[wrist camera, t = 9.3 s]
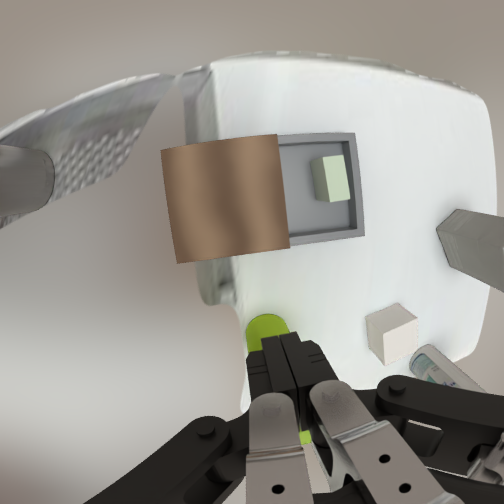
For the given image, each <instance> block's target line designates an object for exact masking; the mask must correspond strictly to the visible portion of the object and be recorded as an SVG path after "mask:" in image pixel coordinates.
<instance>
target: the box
mask: <svg viewBox="0 0 504 504" xmlns="http://www.w3.org/2000/svg"><path fill="white" fill-rule="evenodd" d="M277 137H278V145H279V152H280V160H281V168H282V176H283V185H284V193H285V202H286V211H287V220H288V230H289V240H290V246H295V245H302V244H310V243H317V242H324V241H332V240H339V239H346V238H353V237H361V236H365V231H364V213H363V199H362V188H361V177H360V168H359V160H358V152H357V144H356V137H355V133H313V134H293V135H278V136H277ZM338 155H343V156H344V162H345V168H346V174H347V180H348V186H349V193H350V199H347V200H341V201H335V202H325V201H318V200H317V199H316V193H315V187H314V181H313V175H312V170H311V164H310V161H313V160H316V159H319V158H322V157H329V156H338Z"/></svg>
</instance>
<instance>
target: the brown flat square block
mask: <svg viewBox="0 0 504 504" xmlns="http://www.w3.org/2000/svg"><path fill="white" fill-rule="evenodd" d="M161 159H162V167H163V175H164V184H165V191H166V198H167V205H168V212H169V218H170V225H171V231H172V237H173V243H174V249H175V254H176V260H177V263H186V262H193V261H200V260H208V259H215V258H222V257H229V256H237V255H244V254H251V253H258V252H266V251H273V250H280V249H287V248H290V240H289V230H288V220H287V211H286V202H285V193H284V185H283V176H282V168H281V160H280V152H279V145H278V137H277V134H272V135H260V136H250V137H241V138H233V139H225V140H217V141H210V142H204V143H197V144H191V145H185V146H180V147H174V148H169V149H164V150H161Z"/></svg>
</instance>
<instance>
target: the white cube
mask: <svg viewBox="0 0 504 504" xmlns="http://www.w3.org/2000/svg"><path fill="white" fill-rule="evenodd" d="M365 317H366V326H367V335H368V345H369V348H370V349H371V350H372V352H373V353H374V354H375V355H376V356H377V358H378V359H379V360H380V361H381V362H382V364H383V365H384V366H386V365H389V364H391V363H393V362H395V361H397V360H399V359H401V358H403V357H405V356H407V355H409V354H411V353H413V352H415V351H417V349H418V318H417V317H416V316H415V315H413V314H412V313H411V312H409V311H408V310H406V309H405V308H404V307H402V306H401V305H400V304H398V303H396V304H394V305H392V306H389V307H387V308H385V309H382V310H380V311H377V312H375V313H372V314H370V315H368V316H365Z"/></svg>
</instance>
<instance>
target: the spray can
mask: <svg viewBox="0 0 504 504" xmlns="http://www.w3.org/2000/svg"><path fill="white" fill-rule="evenodd" d="M410 369H411V371H412V372H413V373H414V375H415V376H416V377H417V378H418V379H420V380H424V381H428V382H433V383H437V384H442V385H446V386H451V387H456V388H461V389H466V390H471V391H477V392H482V393H487V392H486V391H485V390H484V389H482V388H481V387H480V386H479V385H478V384H477V383H476V382H475V381H473V380H472V379H471V378H470V377H469V376H468V375H467V374H465V373H464V372H463V371H462V370H461V369H460V368H458V367H457V366H456V365H455V364H454V363H453V362H451V361H450V360H449V359H448V358H447V357H446V356H444V355H443V354H442V353H441V352H440V351H438V350H437V349H436V348H435V347H433V346H431V345H425V346H423V347H421V348H420V349H418V350H417V351H416V352H415V354H414V355H413V357H412V359H411V361H410Z"/></svg>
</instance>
